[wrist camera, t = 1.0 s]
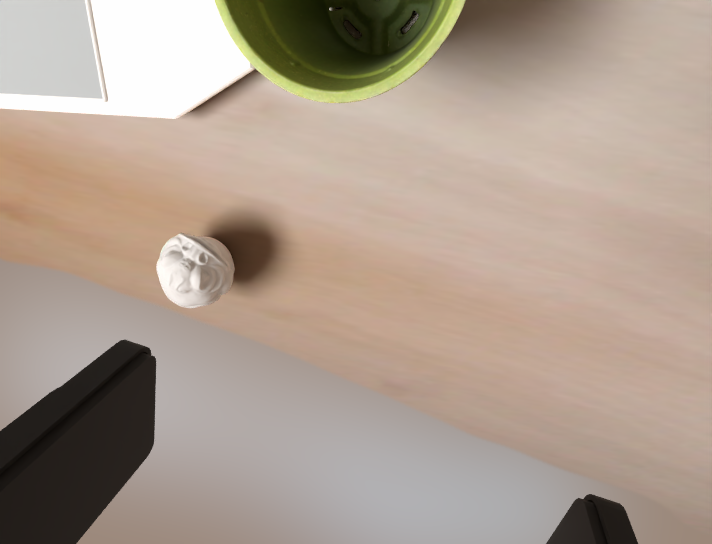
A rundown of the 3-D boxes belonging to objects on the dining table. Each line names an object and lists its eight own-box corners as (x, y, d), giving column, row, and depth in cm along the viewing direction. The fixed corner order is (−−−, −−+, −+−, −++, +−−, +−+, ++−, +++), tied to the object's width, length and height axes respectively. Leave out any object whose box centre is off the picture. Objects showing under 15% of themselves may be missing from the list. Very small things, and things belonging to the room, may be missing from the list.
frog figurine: (265, 243, 37) (225, 277, 31) (230, 300, 40) (188, 341, 34) (204, 201, 37) (152, 226, 31) (174, 262, 40) (121, 296, 34)
